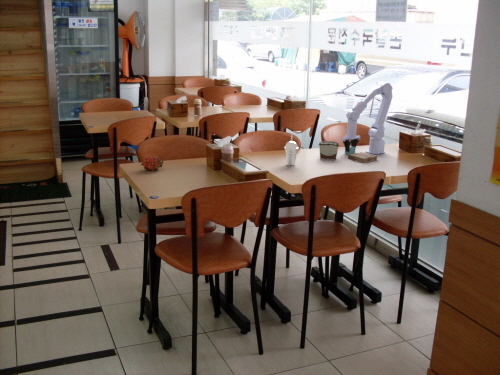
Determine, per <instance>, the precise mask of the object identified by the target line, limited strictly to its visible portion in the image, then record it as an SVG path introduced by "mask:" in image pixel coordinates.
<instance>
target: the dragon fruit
mask: <svg viewBox="0 0 500 375" xmlns="http://www.w3.org/2000/svg"><path fill="white" fill-rule="evenodd" d="M163 163H164V161H163V159H162V158H161V157H158V156H157V155H153V156H152V155H150V156H148V157H146V158H145V159H144V160H143V161H142V162H141V163H140V166H143V169H144V170H145V171H146V170H147V171H152V172H154V171H158V170H159V168H162V167H163V165H164V164H163Z"/></svg>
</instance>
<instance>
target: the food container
mask: <svg viewBox="0 0 500 375" xmlns="http://www.w3.org/2000/svg"><path fill="white" fill-rule="evenodd" d="M318 146H319V158H320V160H327V161H328V160H329V161H330V160H332V161H335V160H336V161H337V155H338V151H339V147H340V143H339V142H338V141H334V140H333V141H331V140H324V141H323V140H321V141H320V142H319V143H318Z"/></svg>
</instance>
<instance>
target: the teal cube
mask: <svg viewBox="0 0 500 375" xmlns="http://www.w3.org/2000/svg"><path fill="white" fill-rule="evenodd" d="M356 148H357V146H356V147H353V146H351V145H350V148H349V152H346V151H345V150H344V154H345V155H347V156H348V155H349V154H354V153H356Z"/></svg>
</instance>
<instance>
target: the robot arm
mask: <svg viewBox="0 0 500 375" xmlns="http://www.w3.org/2000/svg"><path fill="white" fill-rule="evenodd" d="M377 95H378V96H379V95H380V96H381V98H382V100H381V102H380V105H379V107H378V108H379V109H378V111H377V115H376V118H375V121H374V122H373V123H372V124H371V127H370V128H369V130H368V133H367V134H368V136H369V145H368V150H367V151H365V153H367V154H371V155H378V154H379V155H380V154H385V143H386V142H385V140H384V137H385V129H386V128H385V121H386V118H387V115H388V111H389V109H390V106H391V103H392V100H393V86H392V85H391V83H390V82H386V81H385V82H384V81H380V80H379V81H377V82H376V83H375V84H373V87H372V89H371V90H370V91H369V92H368V93H367V95H366V96H365V97H364V98H363V99H362V100H359V101H357V102H356V104H355V105H354V106H353V107H352V108H351V109H349V110H348V111H347V113H346V119H347V123H346V124H347V126H346V135H345V136H344V137H341V142H342V143H343V145H344V152H345V151H346V152H349V148H350V146H353V147H356V148H357V145H358V144H359V142H360V139H361V135H359V134H358V135H357V130H358V129H357V127H358V120H359V119H360V115H361V114H362V113H363V111H365V109H367V108H368V107H367V106H368V104H369V103H370V102H371V101H372V99H374V98H375V97H376V96H377Z"/></svg>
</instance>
